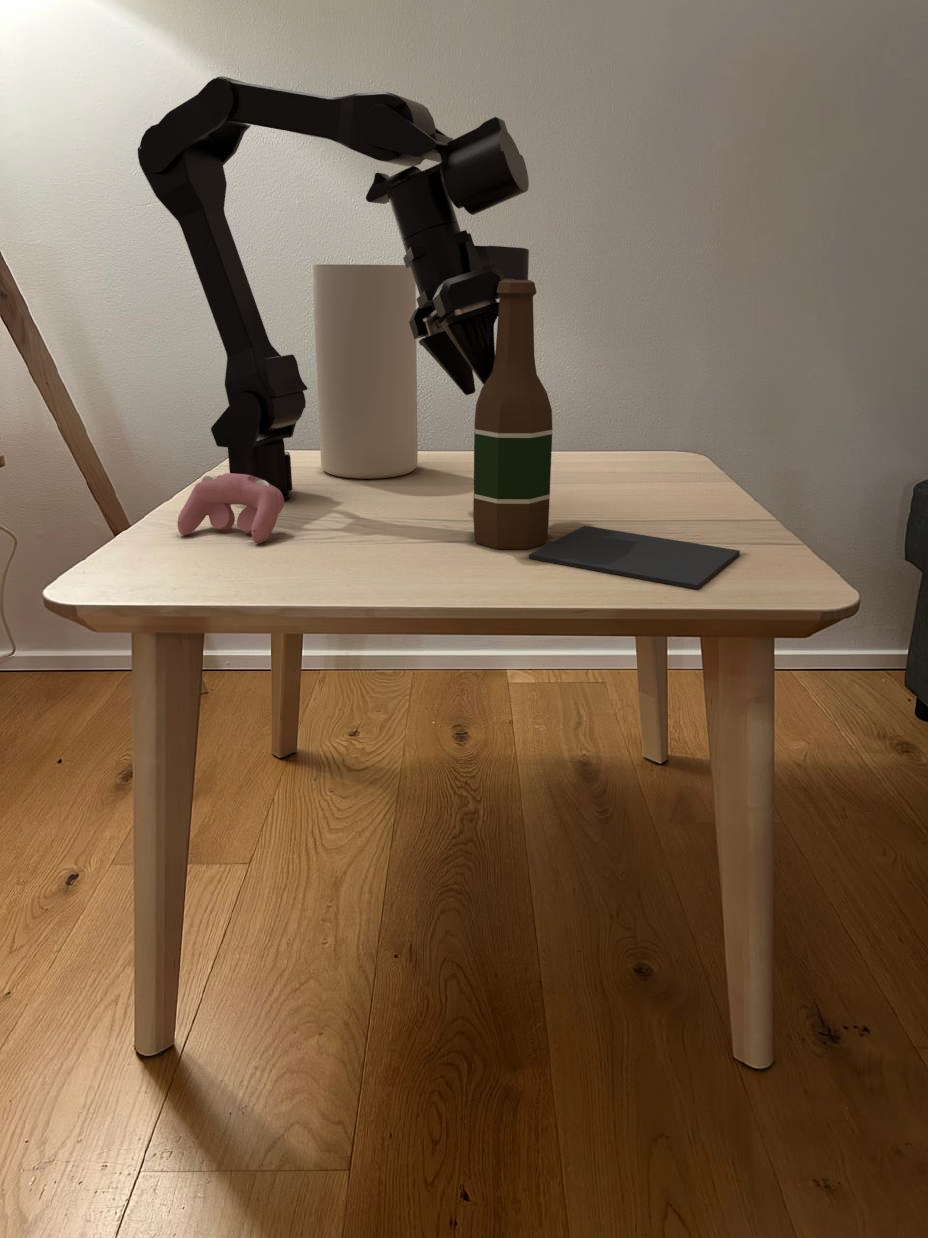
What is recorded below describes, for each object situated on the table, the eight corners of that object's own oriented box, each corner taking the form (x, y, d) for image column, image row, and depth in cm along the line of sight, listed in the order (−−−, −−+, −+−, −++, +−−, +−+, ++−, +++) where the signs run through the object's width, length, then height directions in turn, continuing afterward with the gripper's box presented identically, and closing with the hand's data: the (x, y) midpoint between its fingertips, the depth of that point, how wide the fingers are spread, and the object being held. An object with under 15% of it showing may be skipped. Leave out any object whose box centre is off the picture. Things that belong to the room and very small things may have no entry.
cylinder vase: (301, 471, 121) (289, 264, 112) (364, 456, 130) (358, 264, 122) (375, 484, 114) (369, 265, 105) (436, 467, 124) (436, 265, 115)
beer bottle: (458, 545, 90) (459, 279, 82) (486, 525, 97) (491, 278, 88) (535, 554, 88) (545, 281, 79) (559, 533, 94) (570, 279, 86)
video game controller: (281, 551, 93) (293, 482, 94) (259, 542, 89) (271, 470, 89) (196, 541, 96) (208, 475, 97) (170, 532, 92) (182, 462, 92)
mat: (528, 558, 86) (528, 554, 86) (584, 529, 96) (584, 525, 96) (697, 589, 79) (697, 585, 78) (739, 554, 88) (740, 550, 88)
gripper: (533, 181, 83) (584, 354, 87) (484, 232, 101) (528, 374, 105) (416, 218, 82) (472, 393, 85) (388, 263, 100) (435, 406, 103)
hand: (480, 390), depth 95 cm, fingers open, 9 cm apart
